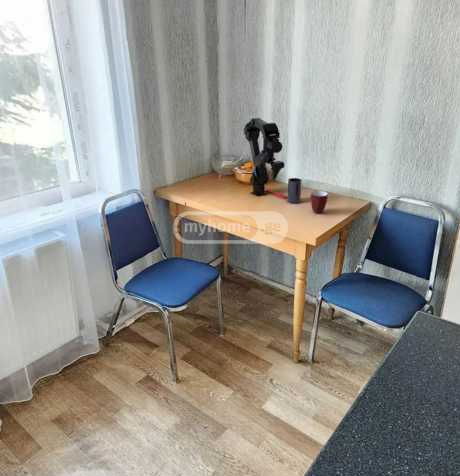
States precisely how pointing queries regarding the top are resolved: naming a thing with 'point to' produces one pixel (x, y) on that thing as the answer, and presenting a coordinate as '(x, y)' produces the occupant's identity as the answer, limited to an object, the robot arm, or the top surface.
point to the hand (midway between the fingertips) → (267, 178)
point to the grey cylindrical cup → (294, 190)
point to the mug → (318, 201)
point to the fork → (277, 194)
